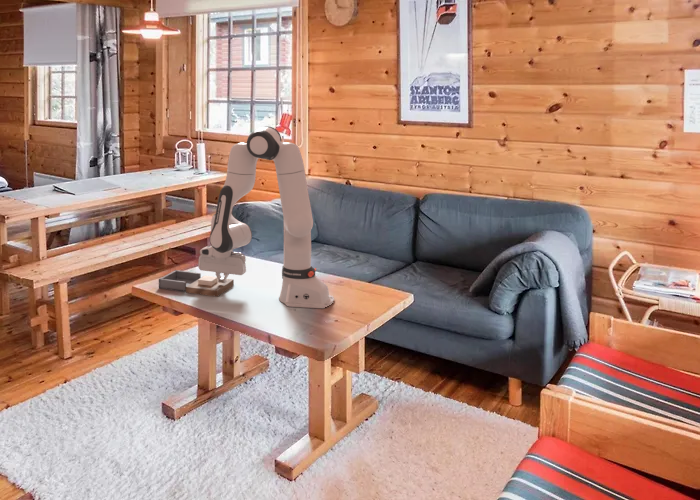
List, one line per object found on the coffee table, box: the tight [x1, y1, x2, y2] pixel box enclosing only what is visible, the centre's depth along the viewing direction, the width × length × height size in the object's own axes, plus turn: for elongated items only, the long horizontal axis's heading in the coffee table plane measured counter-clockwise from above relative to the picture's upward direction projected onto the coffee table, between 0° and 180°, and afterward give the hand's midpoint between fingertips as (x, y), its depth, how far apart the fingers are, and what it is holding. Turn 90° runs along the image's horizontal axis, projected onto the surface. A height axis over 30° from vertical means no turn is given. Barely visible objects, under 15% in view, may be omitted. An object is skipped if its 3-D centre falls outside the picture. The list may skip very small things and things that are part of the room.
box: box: [158, 269, 202, 293], centre depth 272 cm, size 12×14×4 cm
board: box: [185, 276, 235, 297], centre depth 269 cm, size 14×16×2 cm
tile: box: [198, 275, 218, 286], centre depth 269 cm, size 6×6×2 cm
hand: (222, 282), depth 267 cm, fingers closed
